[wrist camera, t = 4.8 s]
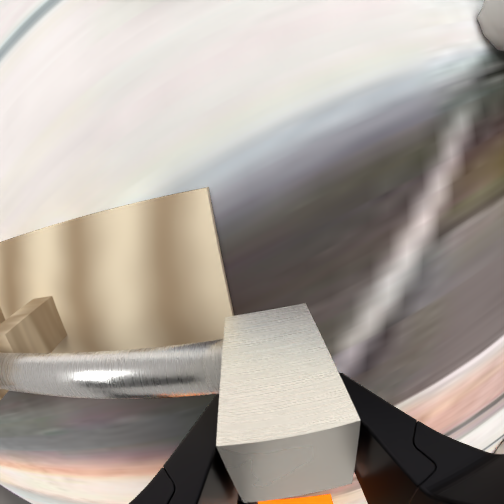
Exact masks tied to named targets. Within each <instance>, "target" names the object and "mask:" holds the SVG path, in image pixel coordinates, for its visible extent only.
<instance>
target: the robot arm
mask: <svg viewBox="0 0 504 504" xmlns="http://www.w3.org/2000/svg"><path fill="white" fill-rule="evenodd" d="M339 374H340V377H341V379H342V381H343V383H344V385H345V387H346V390H347V392H348V394H349V396H350V398H351V400H352V403H353V405H354V407H355V409H356V411H357V413H358V416H359V418H360V420H361V421H360V431H359V439H358V447H357V455H356V462H355V468H354V472H355V474H356V476H357V479H358V481H359V483H360V486H361V488H362V490H363V493H364V495H365V497H366V500H367V502H368V504H504V454H493V453H488V452H485V451H482V450H479V449H477V448H474V447H472V446H469V445H467V444H464V443H461V442H459V441H456V440H454V439H452V438H450V437H447V436H445V435H443V434H441V433H439V432H437V431H435V430H433V429H431V428H429V427H428V426H426V425H424V424H423V423H421V422H419V421H417V420H416V419H414V418H412V417H411V416H409V415H407V414H406V413H404V412H402V411H401V410H399V409H398V408H396V407H394V406H393V405H391V404H390V403H388V402H386V401H385V400H383V399H382V398H380V397H378V396H377V395H375V394H374V393H372V392H371V391H369V390H367V389H366V388H364V387H363V386H361V385H360V384H358V383H357V382H355V381H354V380H352V379H350V378H349V377H347V376H346V375H344V374H343V373H339ZM218 407H219V394H217V395H216V396H215V397H214V398H213V400H212V401H211V402H210V404H209V405H208V407H207V408H206V409H205V411H204V412H203V414H202V415H201V416H200V418H199V419H198V420H197V422H196V423H195V425H194V426H193V427H192V429H191V430H190V431H189V433H188V434H187V435H186V437H185V438H184V439H183V441H182V442H181V443H180V445H179V446H178V447H177V449H176V450H175V451H174V453H173V454H172V455H171V457H170V458H169V459H168V461H167V462H166V463H165V464H164V466H163V467H164V468H161V469H160V471H159V472H158V473H157V475H156V476H155V477H154V478H153V479H152V481H151V482H150V483H149V484H148V485H147V486H146V487H145V488H144V489H143V491H142V492H141V493H140V494H139V495H138V496H137V497H136V498H135V499H133V500H132V501H131V502H130V503H129V504H258V502H248V503H243V501H242V499H241V497H240V495H239V494H238V492H237V490H236V488H235V486H234V484H233V481H232V479H231V477H230V475H229V473H228V471H227V469H226V467H225V465H224V463H223V460H222V458H221V456H220V454H219V452H218V449H217V447H216V439H217V423H218Z"/></svg>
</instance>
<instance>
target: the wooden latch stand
mask: <svg viewBox="0 0 504 504" xmlns="http://www.w3.org/2000/svg"><path fill="white" fill-rule="evenodd" d="M229 316H234V312H233V307H232V303H231V298H230V293H229V289H228V284H227V279H226V274H225V269H224V264H223V260H222V255H221V250H220V245H219V240H218V235H217V229H216V224H215V219H214V214H213V209H212V203H211V198H210V193H209V187H206V188H201V189H196V190H191V191H186V192H182V193H177V194H172V195H168V196H163V197H159V198H154V199H150V200H145V201H141V202H137V203H133V204H129V205H125V206H121V207H117V208H113V209H109V210H105V211H101V212H97V213H94V214H90V215H86V216H83V217H79V218H76V219H72V220H69V221H65V222H62V223H58V224H55V225H52V226H48V227H45V228H42V229H39V230H36V231H32V232H29V233H26V234H23V235H20V236H17V237H14V238H11V239H8V240H5V241H2V242H0V353H76V352H99V351H116V350H130V349H142V348H153V347H163V346H173V345H182V344H190V343H198V342H206V341H214V340H221V339H223V338H224V325H225V317H229ZM8 391H9V390H5V389H0V400H1V399H2V398H3V397H4V395H5V394H6V393H7V392H8Z"/></svg>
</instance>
